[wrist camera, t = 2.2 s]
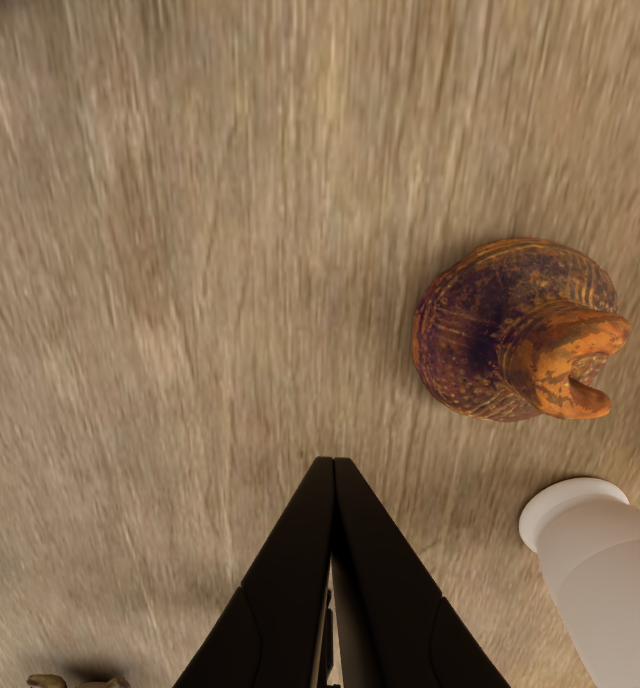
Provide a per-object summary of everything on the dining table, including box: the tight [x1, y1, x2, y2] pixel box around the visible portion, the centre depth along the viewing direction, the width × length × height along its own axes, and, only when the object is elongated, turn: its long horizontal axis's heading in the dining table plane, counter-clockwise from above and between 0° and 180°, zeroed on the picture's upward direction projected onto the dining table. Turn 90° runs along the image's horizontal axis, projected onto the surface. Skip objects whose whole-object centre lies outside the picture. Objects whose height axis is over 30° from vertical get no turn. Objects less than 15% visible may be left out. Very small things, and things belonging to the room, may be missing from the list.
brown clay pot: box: [410, 238, 632, 422], centre depth 16 cm, size 12×12×7 cm
